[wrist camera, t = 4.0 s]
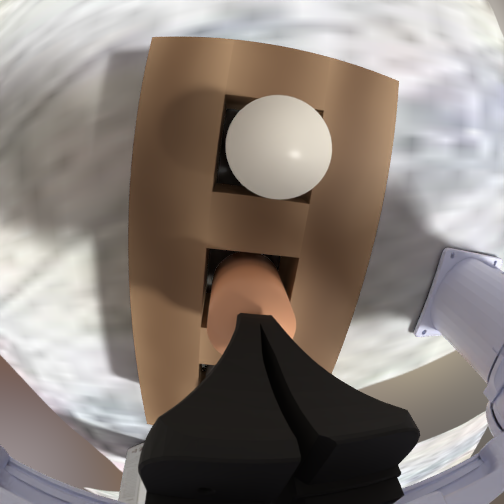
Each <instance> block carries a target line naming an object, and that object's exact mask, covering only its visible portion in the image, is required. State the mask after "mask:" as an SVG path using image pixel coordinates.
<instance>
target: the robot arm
mask: <svg viewBox="0 0 504 504" xmlns="http://www.w3.org/2000/svg"><path fill="white" fill-rule="evenodd" d="M451 254H452V255H451ZM501 266H502V259H501V258H498V257H493V256H488V255H483V254H478V253H473V252H468V251H463V250H458V249H452V248H445V249H444V250H443V252H442V255H441V259H440V262H439V265H438V268H437V272H436V275H435V278H434V281H433V284H432V286H431V289H430V292H429V295H428V297H427V300H426V303H425V305H424V308H423V311H422V313H421V316H420V318H419V320H418V323H417V325H416V327H415V330H414V334H415V336H416V337H424V336H436V335H443V336H444V337H445V338H446V339H447V340H448V341H449V342H450V344H451V345H452V346H453V347H454V348H455V349H456V350H457V351H458V352H459V353H460V354H461V355H462V356H463V357H464V358H465V359H466V361H467V362H468V363H469V364H470V365H471V366H472V367H473V368H474V369H475V370H476V372H477V373H478V374H479V375H480V376H481V377H482V378H483V379H484V381H485V382H486V383H487V384H488V385H487V387H486V389H485V390H484V392H483V393H484V395H485V396H486V397H487V398H488V399H489V402H488V404H487V407H486V417H487V422H488V426H489V429H490V431H491V433H492V435H493V436H494V438H493V439H492V440H490V441H489V442H488V443H487V444H486V445H485V446H484V447H483V448H482V449H481V450H480V451H479V453H478V454H476V455H475V456H473V457H471V458H469V459H467V460H465V461H463V462H462V463H460V464H458V465H456V466H454V467H452V468H450V469H448V470H446V471H444V472H441V473H439V474H437V475H435V476H433V477H430V478H428V479H426V480H423V481H421V482H418V483H416V484H413V485H411V486H408V487H405V488H403V489H402V488H401V486H400V483H399V481H398V479H397V477H399V476H400V475H401V471H400V469H399V467H398V464H399V463H400V462H401V461H402V460H403V459H404V458H405V457H406V456H407V455H408V454H409V453H410V452H411V450H412V449H413V448H414V447H415V445H416V444H417V442H418V439H419V437H420V431H419V429H418V428H417V426H416V424H415V422H414V421H413V419H412V417H411V415H410V414H409V412H408V411H407V410H405V409H402V408H399V407H396V406H393V405H390V404H387V403H384V402H382V401H379V400H377V399H375V398H373V397H370V396H368V395H366V394H364V393H362V392H360V391H358V390H356V389H354V388H353V387H351V386H349V385H348V384H346V383H344V382H343V381H341V380H339V379H338V378H336V377H335V376H333V375H332V374H331V373H329V372H328V371H327V370H325V369H324V368H323V367H321V366H320V365H319V364H318V363H316V362H315V361H314V360H313V359H312V358H311V357H310V356H309V355H307V354H306V353H305V352H304V351H303V350H302V349H301V348H300V347H299V346H298V345H297V344H296V343H295V342H294V340H293V339H292V338H291V337H290V336H289V335H288V334H287V333H286V331H285V330H284V329H283V328H282V327H281V326H280V324H279V323H278V322H277V321H276V319H275V318H274V317H273V316H272V315H261V314H248V313H240V314H238V315H237V320H236V327H235V331H234V333H233V335H232V338H231V340H230V342H229V344H228V346H227V348H226V349H225V351H224V353H223V355H222V356H221V358H220V359H219V361H218V362H217V364H216V365H215V366H214V368H213V369H212V370H211V372H210V373H209V374H208V375H207V376H206V378H205V379H204V380H203V381H202V382H201V383H200V384H199V385H198V386H197V387H196V388H195V389H194V390H193V391H192V392H191V393H190V394H189V395H187V396H186V397H185V398H184V399H183V400H182V401H181V402H179V403H178V404H177V405H175V406H174V407H173V408H171V409H170V410H168V411H167V412H165V413H164V414H162V415H161V416H160V417H158V418H157V420H156V421H155V423H154V425H153V426H152V428H151V430H150V432H149V434H148V435H147V437H146V440H145V442H144V445H143V447H142V450H141V454H140V459H139V464H138V473H139V475H140V478H141V480H142V482H143V484H144V486H145V488H146V491H147V492H146V498H145V504H489V503H490V502H491V501H493V500H494V499H495V498H496V497H497V496H499V495H500V494H501V493H502V492H503V491H504V272H503V271H502V270H500V269H501ZM0 504H129V503H125V502H121V501H117V500H113V499H110V498H106V497H103V496H100V495H96V494H93V493H90V492H87V491H84V490H82V489H79V488H76V487H73V486H71V485H68V484H65V483H63V482H61V481H58V480H56V479H54V478H51V477H49V476H47V475H45V474H43V473H40V472H38V471H36V470H34V469H32V468H30V467H28V466H26V465H25V464H22V463H21V462H19V461H17V460H15V459H13V458H11V457H10V456H9V454H8V453H7V451H6V450H5V449H4V448H3V447H2V446H1V445H0Z"/></svg>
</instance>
